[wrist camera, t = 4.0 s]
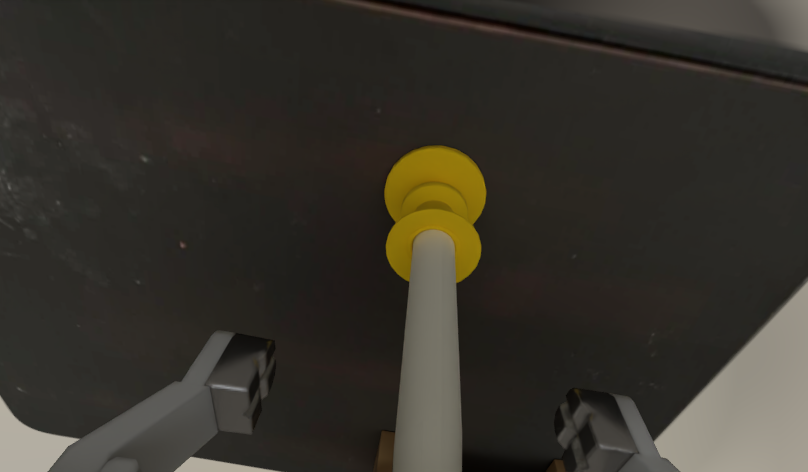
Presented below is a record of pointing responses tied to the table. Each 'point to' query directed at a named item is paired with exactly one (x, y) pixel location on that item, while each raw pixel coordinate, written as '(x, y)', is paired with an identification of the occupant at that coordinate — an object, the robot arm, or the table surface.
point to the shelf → (386, 451)
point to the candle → (432, 297)
